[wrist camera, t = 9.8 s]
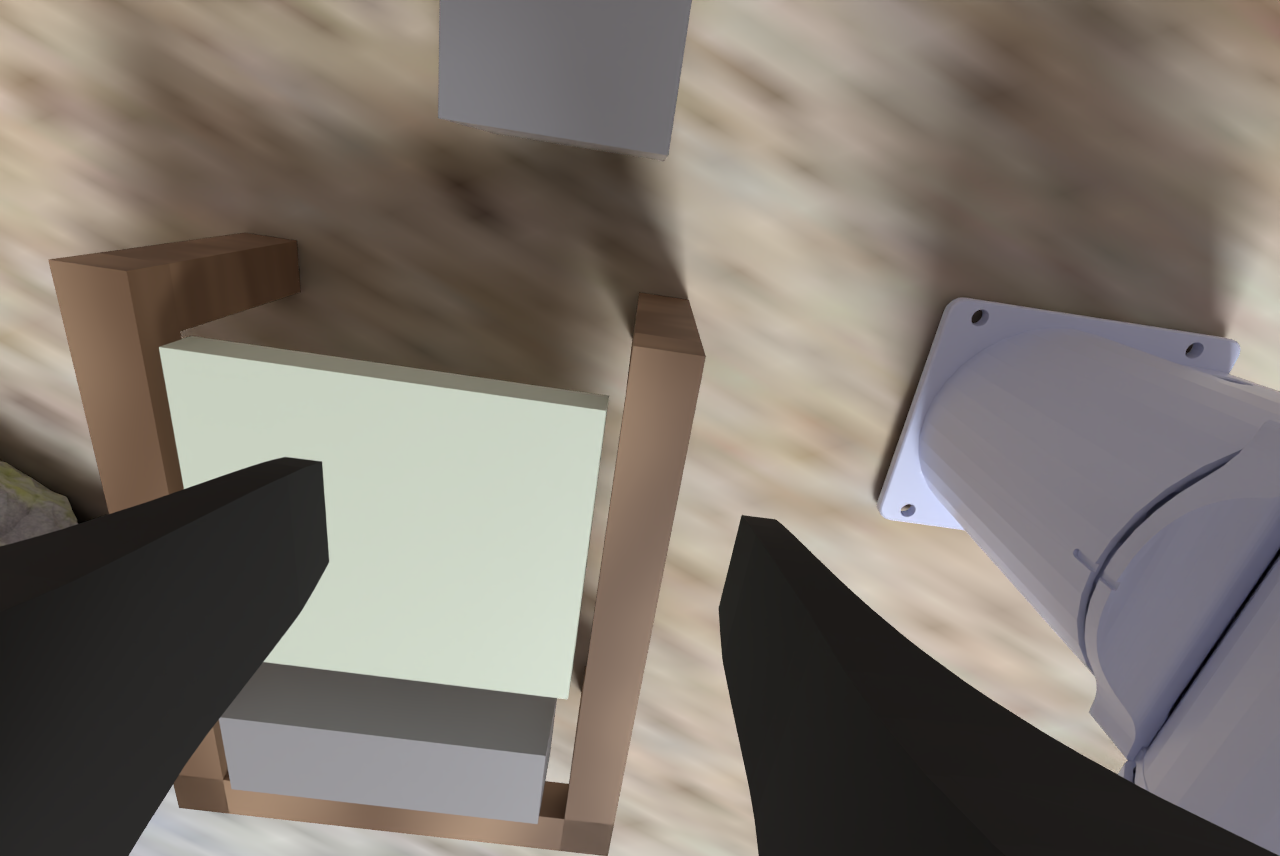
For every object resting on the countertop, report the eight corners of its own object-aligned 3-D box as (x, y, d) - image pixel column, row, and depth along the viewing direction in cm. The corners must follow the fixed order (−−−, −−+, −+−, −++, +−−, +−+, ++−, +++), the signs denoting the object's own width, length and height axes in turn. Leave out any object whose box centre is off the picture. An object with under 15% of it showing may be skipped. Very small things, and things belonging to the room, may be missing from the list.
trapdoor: (561, 755, 20) (550, 825, 18) (266, 720, 20) (217, 787, 18) (610, 386, 15) (604, 422, 13) (211, 328, 15) (133, 355, 12)
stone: (694, -46, 16) (712, -139, 11) (664, 161, 18) (668, 155, 13) (504, -79, 15) (442, -189, 11) (494, 134, 17) (438, 118, 13)
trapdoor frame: (688, 299, 19) (705, 356, 13) (617, 698, 26) (607, 856, 20) (244, 232, 18) (48, 259, 12) (291, 657, 25) (179, 807, 19)
